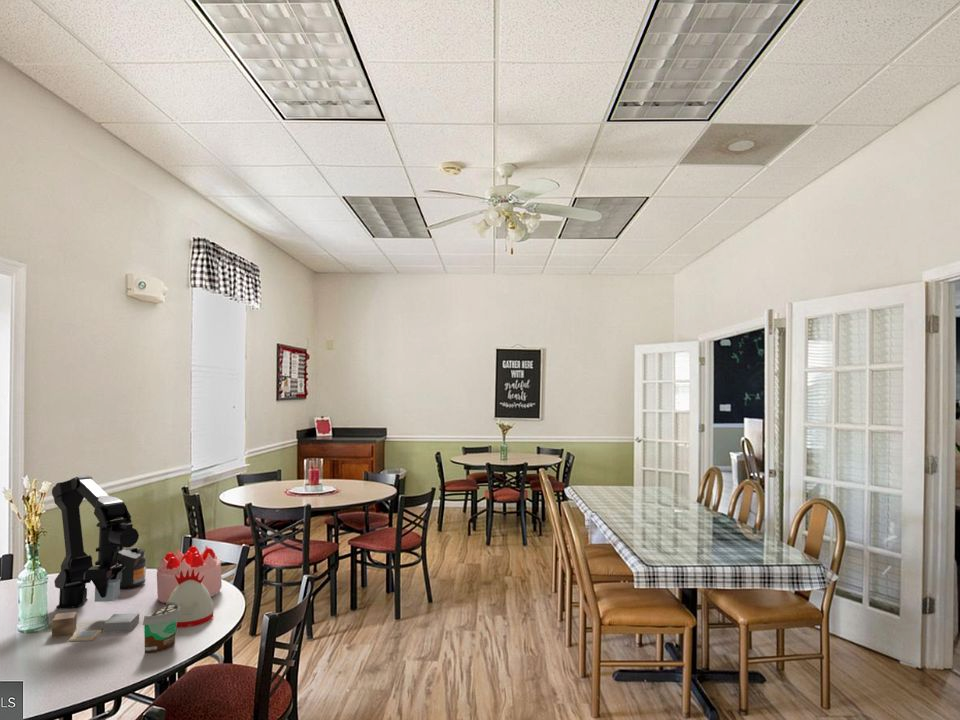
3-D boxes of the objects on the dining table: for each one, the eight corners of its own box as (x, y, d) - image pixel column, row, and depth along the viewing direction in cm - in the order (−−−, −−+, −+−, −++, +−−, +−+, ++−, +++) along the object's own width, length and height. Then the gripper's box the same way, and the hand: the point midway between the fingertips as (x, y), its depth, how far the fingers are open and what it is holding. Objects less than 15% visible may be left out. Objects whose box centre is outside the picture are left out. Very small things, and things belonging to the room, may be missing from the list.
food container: (164, 656, 161) (166, 617, 162) (141, 655, 161) (143, 617, 162) (187, 637, 173) (189, 601, 174) (166, 636, 174) (167, 600, 174)
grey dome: (166, 613, 191) (168, 564, 192) (214, 608, 196) (216, 561, 197) (159, 630, 178) (162, 577, 179) (211, 624, 183) (213, 573, 184)
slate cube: (94, 601, 184) (95, 584, 185) (102, 596, 189) (102, 579, 190) (112, 601, 185) (113, 584, 185) (119, 595, 190) (120, 579, 190)
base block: (103, 633, 175) (103, 623, 176) (113, 624, 182) (113, 614, 182) (130, 632, 177) (130, 622, 177) (138, 623, 184) (139, 613, 184)
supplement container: (152, 583, 219) (153, 549, 220) (127, 592, 209) (128, 556, 210) (129, 579, 223) (131, 546, 223) (103, 588, 213) (105, 553, 213)
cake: (144, 600, 202) (142, 557, 202) (194, 579, 221) (192, 540, 221) (187, 608, 195) (185, 563, 195) (235, 585, 213) (233, 545, 213)
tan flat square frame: (68, 641, 169) (68, 638, 169) (79, 632, 175) (79, 630, 175) (92, 640, 170) (92, 637, 170) (102, 631, 176) (102, 629, 176)
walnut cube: (51, 638, 171) (52, 620, 171) (55, 631, 176) (56, 613, 176) (72, 635, 173) (73, 617, 173) (76, 629, 178) (77, 611, 178)
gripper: (125, 550, 180) (122, 604, 179) (149, 535, 199) (147, 583, 198) (84, 551, 178) (81, 605, 178) (112, 535, 197) (109, 584, 196)
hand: (107, 594), depth 187 cm, fingers closed on slate cube, 5 cm apart
